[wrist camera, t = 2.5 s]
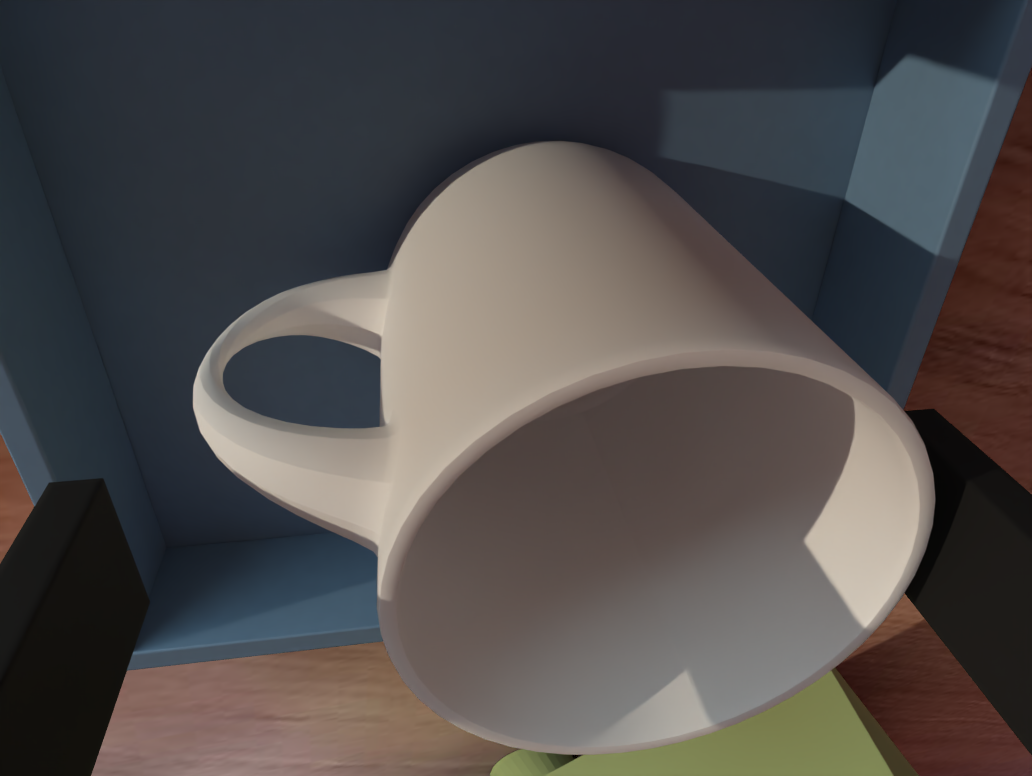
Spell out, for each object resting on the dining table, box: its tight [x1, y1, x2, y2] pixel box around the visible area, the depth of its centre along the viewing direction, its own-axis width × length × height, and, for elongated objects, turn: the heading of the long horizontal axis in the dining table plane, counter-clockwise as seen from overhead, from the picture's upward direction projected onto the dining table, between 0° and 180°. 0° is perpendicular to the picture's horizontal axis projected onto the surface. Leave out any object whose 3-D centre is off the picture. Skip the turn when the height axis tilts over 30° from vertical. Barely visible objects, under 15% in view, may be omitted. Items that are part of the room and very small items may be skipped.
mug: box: [193, 141, 935, 755], centre depth 15 cm, size 9×12×11 cm
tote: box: [0, 0, 1032, 671], centre depth 18 cm, size 18×21×4 cm
